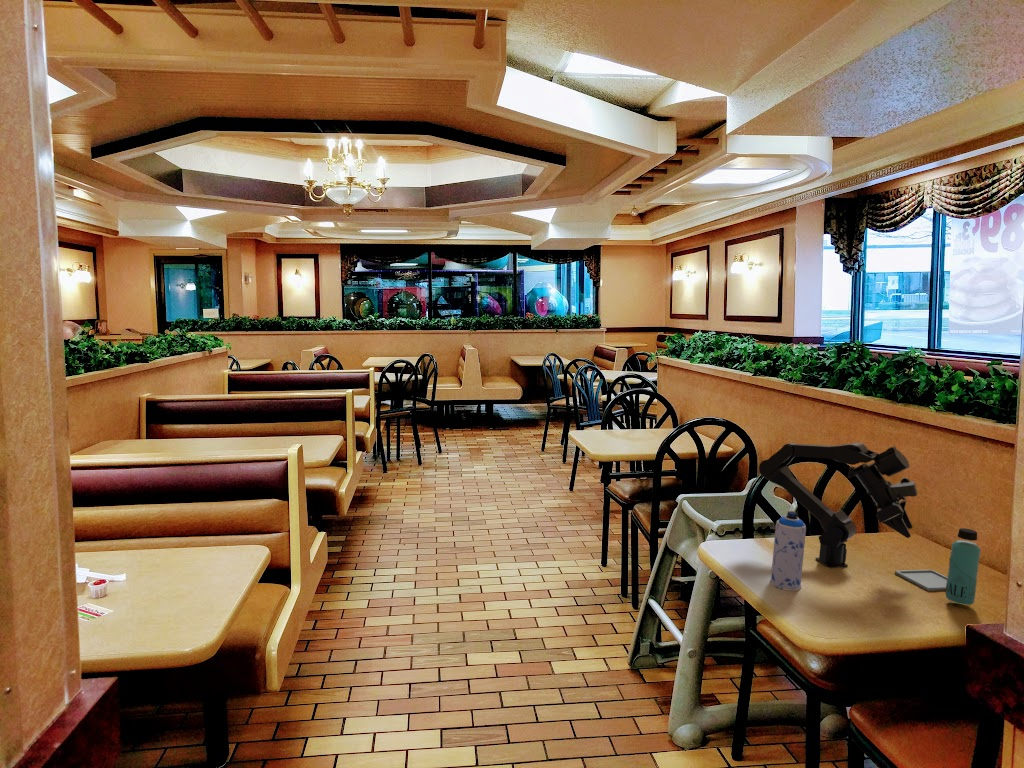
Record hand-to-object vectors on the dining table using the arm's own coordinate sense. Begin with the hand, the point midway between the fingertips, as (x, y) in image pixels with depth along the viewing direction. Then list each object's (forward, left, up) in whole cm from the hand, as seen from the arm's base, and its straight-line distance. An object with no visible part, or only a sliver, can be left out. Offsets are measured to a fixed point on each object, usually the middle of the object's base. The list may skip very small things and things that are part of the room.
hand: (910, 532), depth 189 cm
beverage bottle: (+2, -16, -14) cm, 21 cm away
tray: (+7, -1, -14) cm, 16 cm away
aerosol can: (-37, 0, -14) cm, 39 cm away
